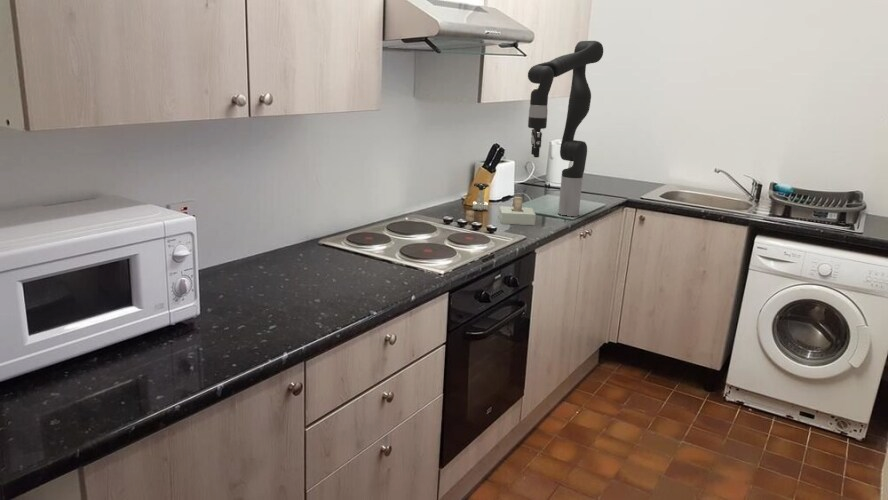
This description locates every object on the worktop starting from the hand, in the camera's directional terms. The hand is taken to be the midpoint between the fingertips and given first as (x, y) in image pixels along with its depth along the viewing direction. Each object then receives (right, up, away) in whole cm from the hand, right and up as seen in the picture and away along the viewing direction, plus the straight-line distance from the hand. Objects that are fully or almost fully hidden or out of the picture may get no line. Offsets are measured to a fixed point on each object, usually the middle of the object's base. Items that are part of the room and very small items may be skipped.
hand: (535, 155), depth 271 cm
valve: (-22, -22, +23) cm, 38 cm away
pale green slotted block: (-7, -27, +5) cm, 28 cm away
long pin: (-7, -27, +5) cm, 28 cm away
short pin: (-27, -27, +2) cm, 38 cm away
